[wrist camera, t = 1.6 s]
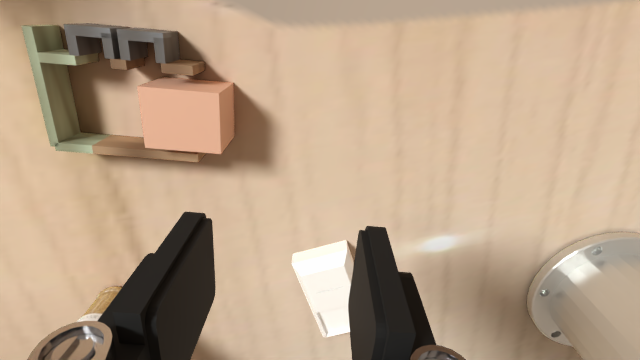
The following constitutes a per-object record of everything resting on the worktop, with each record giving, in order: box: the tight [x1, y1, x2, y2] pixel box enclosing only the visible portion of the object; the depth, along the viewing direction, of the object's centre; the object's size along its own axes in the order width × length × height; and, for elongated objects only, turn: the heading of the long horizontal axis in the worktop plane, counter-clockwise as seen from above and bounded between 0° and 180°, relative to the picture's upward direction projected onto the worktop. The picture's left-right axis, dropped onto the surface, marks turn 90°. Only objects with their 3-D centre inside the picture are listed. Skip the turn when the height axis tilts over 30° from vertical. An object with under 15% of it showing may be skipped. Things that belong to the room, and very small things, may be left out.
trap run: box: [22, 23, 206, 162], centre depth 25 cm, size 10×8×2 cm
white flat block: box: [292, 240, 354, 337], centre depth 32 cm, size 5×9×3 cm, turn 18°
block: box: [137, 77, 234, 154], centre depth 25 cm, size 5×4×4 cm
